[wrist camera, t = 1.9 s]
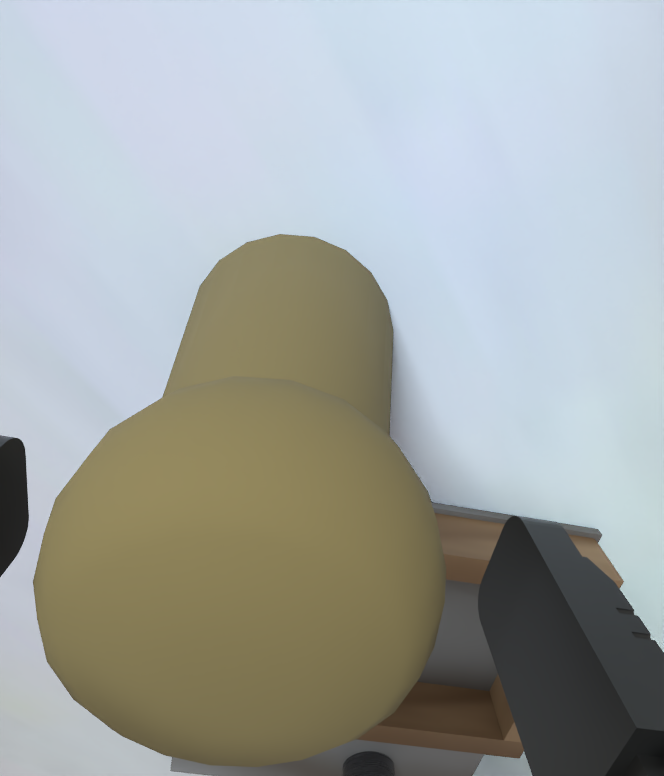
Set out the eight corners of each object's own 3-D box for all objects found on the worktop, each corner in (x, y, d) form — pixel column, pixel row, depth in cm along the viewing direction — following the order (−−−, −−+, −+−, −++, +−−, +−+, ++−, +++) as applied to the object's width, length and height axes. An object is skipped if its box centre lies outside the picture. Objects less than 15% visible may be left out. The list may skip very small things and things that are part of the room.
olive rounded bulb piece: (348, 198, 14) (406, 333, 4) (420, 387, 16) (570, 775, 6) (151, 284, 15) (-219, 574, 5) (246, 451, 17) (134, 878, 7)
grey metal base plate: (208, 466, 17) (191, 509, 15) (597, 529, 19) (632, 577, 16) (172, 764, 24) (157, 821, 22) (457, 795, 26) (468, 852, 24)
